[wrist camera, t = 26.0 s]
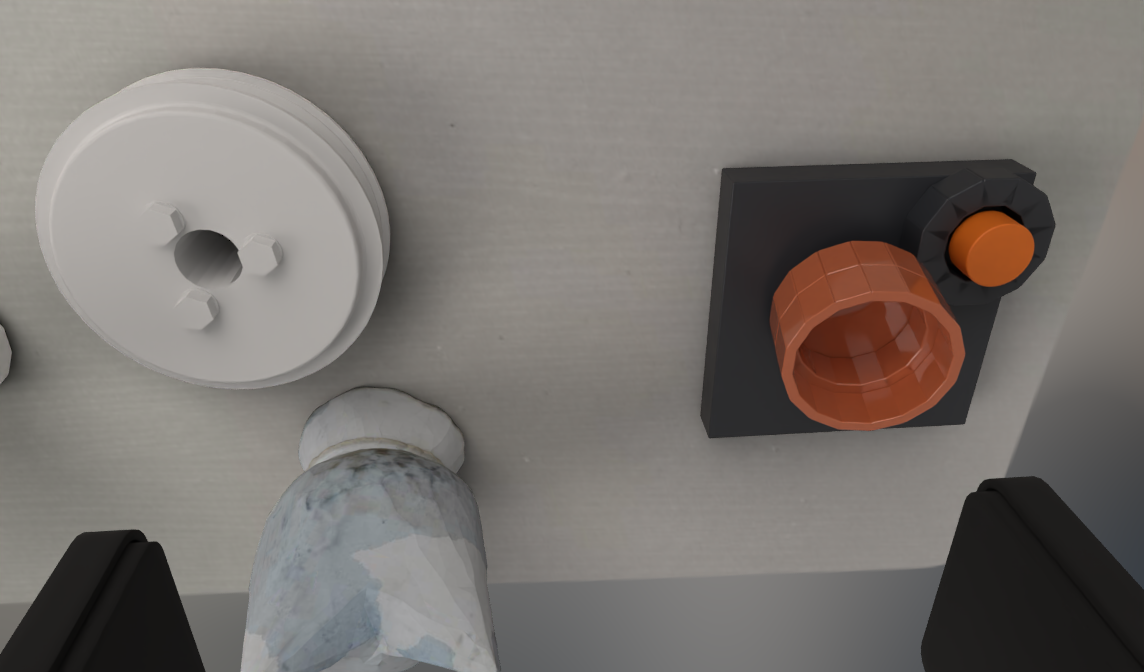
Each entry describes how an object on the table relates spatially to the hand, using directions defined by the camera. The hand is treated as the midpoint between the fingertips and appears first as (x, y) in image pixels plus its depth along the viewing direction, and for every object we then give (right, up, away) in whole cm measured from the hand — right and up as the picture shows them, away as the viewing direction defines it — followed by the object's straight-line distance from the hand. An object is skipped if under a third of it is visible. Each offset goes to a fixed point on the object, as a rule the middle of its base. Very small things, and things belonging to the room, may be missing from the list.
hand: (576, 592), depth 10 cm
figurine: (-9, -3, +31) cm, 33 cm away
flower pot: (+12, +4, +26) cm, 29 cm away
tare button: (+17, +7, +24) cm, 31 cm away
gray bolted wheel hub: (-14, +8, +25) cm, 30 cm away
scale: (+13, +5, +29) cm, 32 cm away
